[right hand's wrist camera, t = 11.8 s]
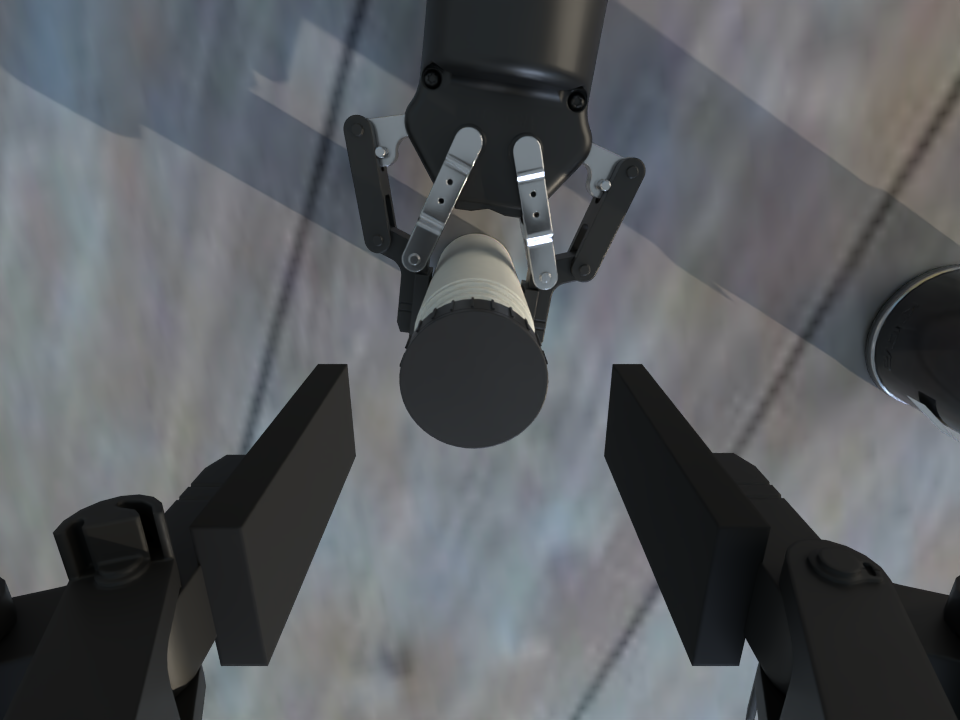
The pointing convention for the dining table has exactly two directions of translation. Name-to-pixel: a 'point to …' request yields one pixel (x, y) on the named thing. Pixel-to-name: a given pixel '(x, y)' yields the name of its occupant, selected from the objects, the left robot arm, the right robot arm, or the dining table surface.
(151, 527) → the right robot arm
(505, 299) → the bottle
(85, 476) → the dining table surface
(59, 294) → the dining table surface
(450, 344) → the cap
